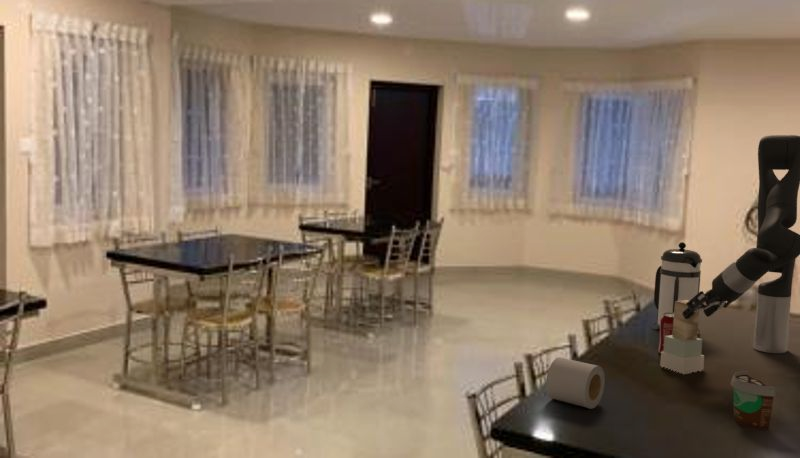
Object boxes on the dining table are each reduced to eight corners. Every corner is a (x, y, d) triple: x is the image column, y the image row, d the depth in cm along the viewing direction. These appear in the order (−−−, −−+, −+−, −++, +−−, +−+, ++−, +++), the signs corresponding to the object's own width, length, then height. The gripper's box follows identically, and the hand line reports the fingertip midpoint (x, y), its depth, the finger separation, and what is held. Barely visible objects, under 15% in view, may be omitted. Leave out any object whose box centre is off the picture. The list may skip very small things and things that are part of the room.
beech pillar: (683, 335, 221) (686, 299, 220) (696, 338, 217) (699, 303, 216) (672, 336, 218) (675, 301, 217) (685, 340, 215) (688, 304, 213)
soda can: (683, 358, 229) (686, 317, 228) (659, 356, 231) (662, 316, 229) (680, 352, 236) (683, 312, 235) (656, 350, 237) (659, 311, 236)
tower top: (680, 349, 223) (681, 333, 222) (701, 355, 217) (702, 339, 216) (663, 351, 219) (664, 336, 219) (684, 358, 213) (685, 342, 213)
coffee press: (705, 330, 265) (711, 241, 262) (694, 339, 252) (701, 246, 248) (652, 322, 275) (658, 237, 271) (640, 331, 261) (645, 241, 258)
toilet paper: (544, 403, 186) (547, 361, 185) (565, 393, 194) (567, 353, 193) (583, 413, 180) (586, 370, 179) (603, 403, 188) (605, 362, 187)
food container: (717, 412, 183) (721, 370, 182) (743, 412, 184) (746, 370, 183) (745, 432, 171) (749, 387, 170) (772, 431, 172) (776, 387, 170)
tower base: (679, 363, 224) (680, 348, 224) (703, 371, 217) (704, 355, 217) (660, 367, 220) (661, 351, 219) (683, 375, 213) (684, 358, 213)
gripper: (744, 267, 209) (705, 301, 220) (708, 270, 201) (670, 305, 212) (761, 290, 205) (720, 324, 216) (725, 294, 197) (684, 329, 208)
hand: (695, 315), depth 214 cm, fingers open, 8 cm apart
